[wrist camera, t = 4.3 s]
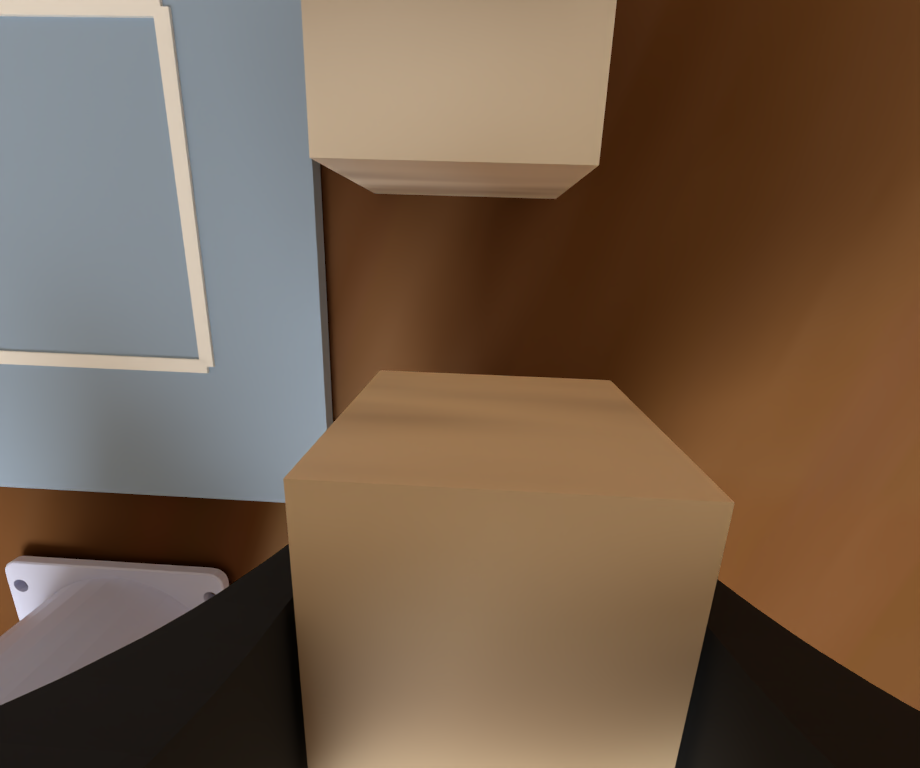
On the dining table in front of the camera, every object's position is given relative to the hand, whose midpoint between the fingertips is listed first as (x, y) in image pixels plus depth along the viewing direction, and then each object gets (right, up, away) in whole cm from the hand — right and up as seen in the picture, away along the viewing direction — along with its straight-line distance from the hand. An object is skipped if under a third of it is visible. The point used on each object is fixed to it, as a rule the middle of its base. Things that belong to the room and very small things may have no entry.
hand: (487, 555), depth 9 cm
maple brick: (0, 0, +1) cm, 2 cm away
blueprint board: (-11, +9, +4) cm, 15 cm away
